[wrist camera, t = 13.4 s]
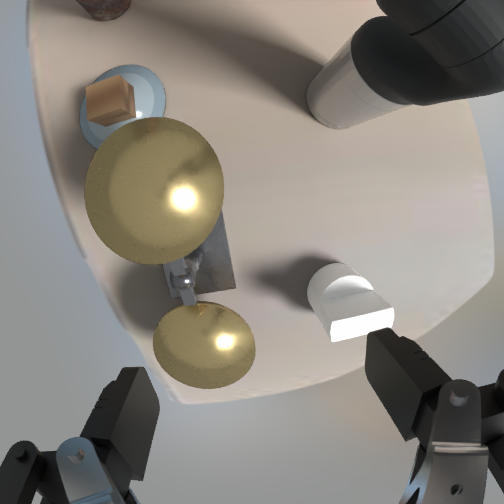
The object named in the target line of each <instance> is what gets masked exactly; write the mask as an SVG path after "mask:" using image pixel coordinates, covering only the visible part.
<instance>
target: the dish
mask: <svg viewBox="0 0 504 504" xmlns="http://www.w3.org/2000/svg"><path fill="white" fill-rule="evenodd" d="M116 75H120V76H121V77H123V78H124V79H125V80H126V81H127V82H128V83H130V84H131V85H132V86H133V87H134V98H135V109H136V118H132V119H129V120H126V121H122V122H119V123H116V124H113V125H110V126H107V127H105V126H102V125H99V124H96V123H94V122H91V121H88V120H87V109H86V95H85V97H84V99H83V102H82V105H81V110H80V126H81V130H82V133H83V135H84V137H85V138H86V140H87V141H88V142H89V143H90V144H91V145H92V146H93V147H95V148H97V149H98V148H99V147H100V145H101V144H102V143H103V142H104V141H105V139H106V138H107V137H109V136H110V135H111V134H112V133H113V132H114V131H116V130H117V129H119V128H120V127H122V126H124V125H126V124H127V123H130V122H132V121H135V120H138V119H143V118H148V117H163V116H164V113H165V108H166V93H165V89H164V87H163V84H162V83H161V81H160V79H159V78H158V77H157V76H156V75H155V73H153V72H152V71H151V70H149V69H148V68H145V67H143V66H139V65H123V66H119V67H116V68H114V69H111V70H109V71H108V72H106V73H104V74H103V75H102V76H100V77H99V78H98V79H97V80H96V81H95V82H94V83H97V82H99V81H102V80H104V79H107V78H110V77H113V76H116ZM94 83H93V84H94Z"/></svg>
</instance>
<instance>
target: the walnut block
mask: <svg viewBox="0 0 504 504" xmlns="http://www.w3.org/2000/svg"><path fill="white" fill-rule="evenodd" d="M86 109H87V120H88V121H91V122H94V123H96V124H99V125H102V126H105V127H107V126H110V125H113V124H116V123H119V122H122V121H126V120H129V119H132V118H136V109H135V98H134V87H133V86H132V85H131V84H130V83H128V82H127V81H126V80H125V79H124V78H123V77H121V76H120V75H116V76H113V77H110V78H107V79H104V80H102V81H99V82H97V83H94V84H92V85H89V86H87V87H86Z"/></svg>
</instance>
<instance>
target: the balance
mask: <svg viewBox="0 0 504 504" xmlns="http://www.w3.org/2000/svg"><path fill="white" fill-rule="evenodd" d="M223 199H224V178H223V173H222V168H221V165H220V162H219V160H218V157H217V156H216V154H215V152H214V150H213V148H212V147H211V146H210V144H209V143H208V142H207V140H206V139H205V138H204V137H203V136H202V135H201V134H200V133H199V132H197V131H196V130H195V129H193V128H192V127H190V126H188V125H186V124H185V123H183V122H180V121H177V120H174V119H170V118H164V117H148V118H143V119H138V120H135V121H132V122H130V123H127V124H126V125H124V126H122V127H120V128H119V129H117V130H116V131H114V132H113V133H112V134H111V135H110V136H109V137H107V138H106V139H105V141H104V142H103V143H102V144H101V145H100V147H99V148H98V150H97V151H96V153H95V154H94V156H93V158H92V160H91V163H90V165H89V168H88V171H87V175H86V180H85V205H86V210H87V214H88V217H89V220H90V222H91V225H92V227H93V228H94V230H95V232H96V234H97V235H98V236H99V238H100V239H101V240H102V242H103V243H104V244H105V245H106V246H107V247H108V248H110V249H111V250H112V251H113V252H115V253H116V254H118V255H119V256H121V257H123V258H125V259H127V260H130V261H133V262H136V263H141V264H151V265H156V264H163V268H164V272H165V276H166V280H167V284H168V288H169V291H170V295H171V298H177V297H182V300H183V303H184V304H181V305H178V306H176V307H175V308H173V309H171V310H170V311H168V312H167V313H166V314H165V315H164V316H163V317H162V319H161V320H160V322H159V323H158V325H157V327H156V330H155V333H154V337H153V349H154V353H155V356H156V358H157V361H158V362H159V364H160V365H161V367H162V368H163V369H164V370H165V371H166V372H167V373H168V374H169V375H170V376H171V377H173V378H174V379H176V380H177V381H179V382H181V383H183V384H186V385H188V386H192V387H196V388H202V389H214V388H221V387H225V386H228V385H230V384H233V383H234V382H236V381H238V380H239V379H241V378H242V377H243V376H244V375H245V374H246V373H247V372H248V371H249V369H250V368H251V366H252V364H253V361H254V358H255V350H256V349H255V341H254V336H253V333H252V331H251V329H250V327H249V326H248V324H247V323H246V321H245V320H244V319H243V318H242V317H241V316H240V315H239V314H237V313H236V312H234V311H233V310H231V309H229V308H227V307H225V306H223V305H220V304H217V303H213V302H206V301H197V298H196V295H197V294H204V293H210V292H216V291H223V290H229V289H235V288H236V283H235V278H234V273H233V268H232V262H231V257H230V251H229V246H228V241H227V235H226V230H225V224H224V218H223V213H222V205H223Z"/></svg>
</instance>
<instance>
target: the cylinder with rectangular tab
mask: <svg viewBox="0 0 504 504" xmlns="http://www.w3.org/2000/svg"><path fill="white" fill-rule="evenodd" d="M307 297H308V301H309V303H310V305H311V307H312V308H313V310H314V312H315V313H316V315H317V317H318V319H319V320H320V322H321V324H322V325H323V327H324V329H325V330H326V332H327V334H328V335H329V337H330V339H331V341H332V342H336V341H340V340H345V339H349V338H353V337H357V336H361V335H365V334H368V333H369V332H371V331H375V330H379V329H382V328H386V327H389V328H391V327H392V324H393V320H394V309H393V307H392V306H391V305H390V304H389V303H387V302H386V301H385V300H384V299H383V298H382V297H381V296H379V295H378V294H377V293H376V292H375V291H374V290H373V288H372V286H371V285H370V283H369V282H368V281H367V280H366V279H365V278H363V277H362V276H361V275H360V274H358V273H357V272H356V271H355V270H353V269H352V268H351V267H349V266H347V265H345V264H341V263H332V264H329V265H326V266H324V267H322V268H321V269H319V270H318V271H317V272H316V273H315V274H314V275H313V277H312V278H311V280H310V282H309V285H308V288H307Z"/></svg>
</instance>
